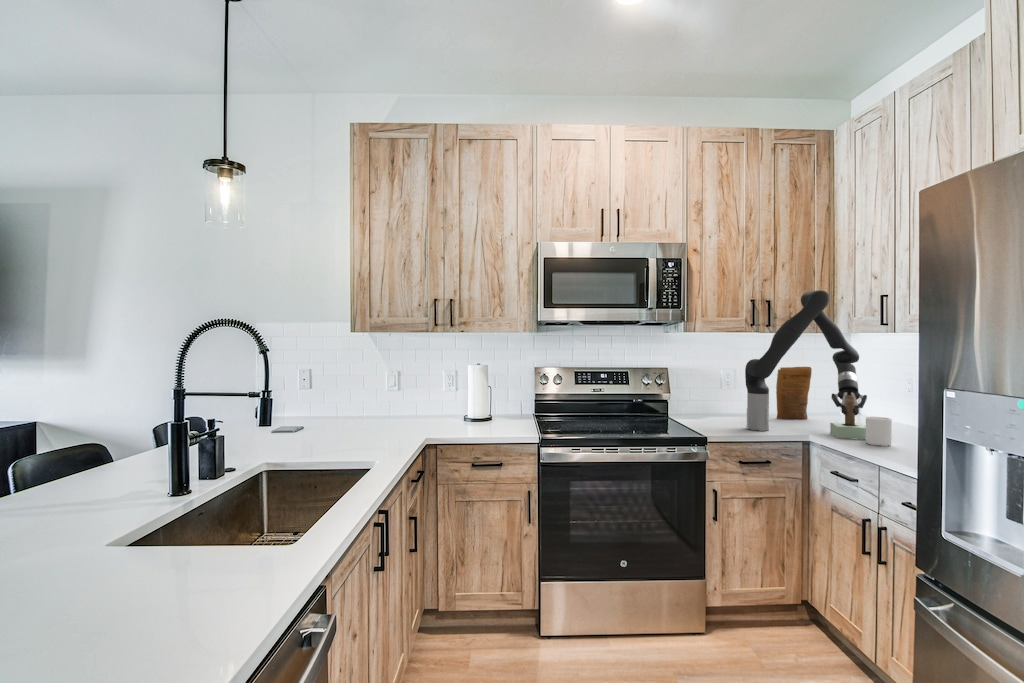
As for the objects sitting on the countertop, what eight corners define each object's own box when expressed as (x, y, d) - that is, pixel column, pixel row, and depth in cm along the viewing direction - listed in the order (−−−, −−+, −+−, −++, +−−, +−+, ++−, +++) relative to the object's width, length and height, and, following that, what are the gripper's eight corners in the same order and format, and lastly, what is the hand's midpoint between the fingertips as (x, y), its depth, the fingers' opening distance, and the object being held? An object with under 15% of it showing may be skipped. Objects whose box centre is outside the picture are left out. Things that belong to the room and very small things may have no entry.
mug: (877, 440, 218) (877, 415, 218) (896, 446, 206) (896, 419, 206) (856, 440, 219) (856, 415, 218) (873, 446, 207) (874, 419, 206)
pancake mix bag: (814, 420, 271) (815, 366, 271) (778, 419, 272) (778, 366, 272) (808, 418, 278) (808, 366, 278) (772, 417, 279) (772, 366, 278)
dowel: (846, 428, 226) (846, 396, 226) (843, 426, 229) (843, 395, 229) (855, 428, 225) (855, 396, 224) (853, 427, 228) (853, 395, 228)
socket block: (837, 438, 223) (837, 426, 223) (830, 433, 234) (830, 422, 234) (870, 439, 219) (870, 428, 219) (861, 434, 231) (861, 423, 231)
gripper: (829, 377, 237) (831, 407, 226) (867, 378, 230) (870, 409, 219) (829, 388, 241) (830, 417, 231) (865, 389, 234) (869, 420, 224)
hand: (850, 413), depth 225 cm, fingers closed on dowel, 3 cm apart
